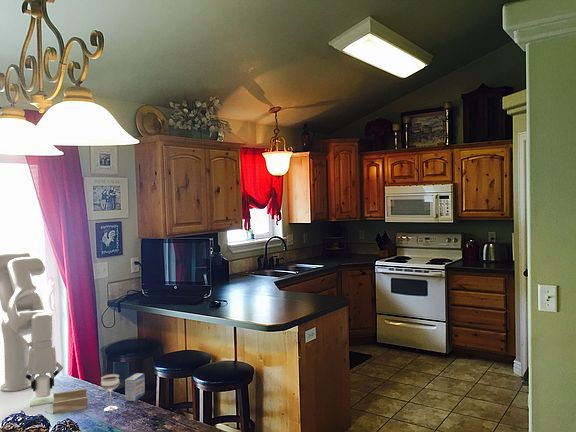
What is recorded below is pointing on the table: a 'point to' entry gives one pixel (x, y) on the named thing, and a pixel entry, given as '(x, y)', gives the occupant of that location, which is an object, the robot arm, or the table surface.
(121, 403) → the table surface
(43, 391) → the eye dropper bottle
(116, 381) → the wineglass
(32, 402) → the sage mat
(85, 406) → the maple channel
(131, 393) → the medicine box
